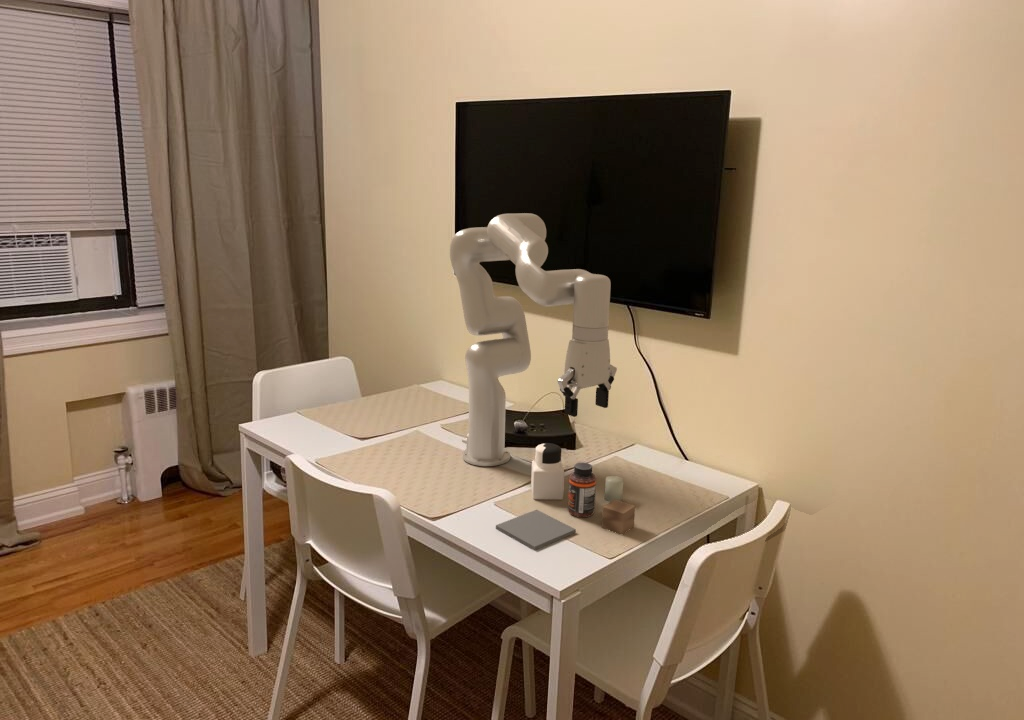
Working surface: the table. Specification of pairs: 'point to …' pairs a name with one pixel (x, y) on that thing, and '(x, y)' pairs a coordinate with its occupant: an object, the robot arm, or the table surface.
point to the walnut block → (618, 516)
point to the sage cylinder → (613, 488)
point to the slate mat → (535, 529)
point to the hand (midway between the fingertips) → (586, 410)
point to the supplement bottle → (582, 490)
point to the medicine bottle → (547, 473)
